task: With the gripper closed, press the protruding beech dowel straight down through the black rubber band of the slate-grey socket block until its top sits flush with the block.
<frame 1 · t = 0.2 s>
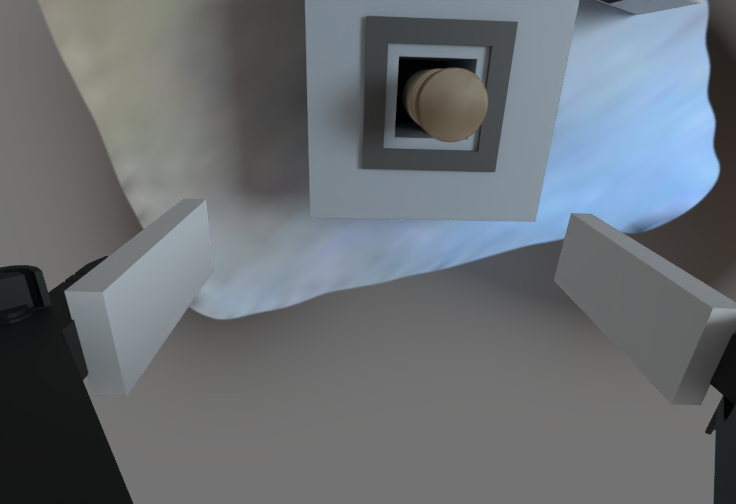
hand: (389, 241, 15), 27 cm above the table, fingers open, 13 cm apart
socket block: (415, 92, 39), on the table
peg: (438, 100, 29), point 11 cm above the table, slide at 0.0 cm
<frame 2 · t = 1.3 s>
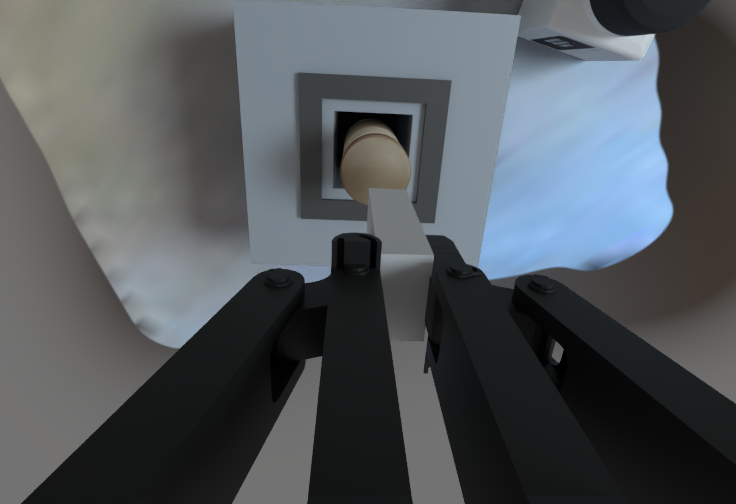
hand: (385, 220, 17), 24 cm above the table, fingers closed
socket block: (367, 131, 39), on the table
peg: (372, 156, 28), point 12 cm above the table, slide at 0.0 cm
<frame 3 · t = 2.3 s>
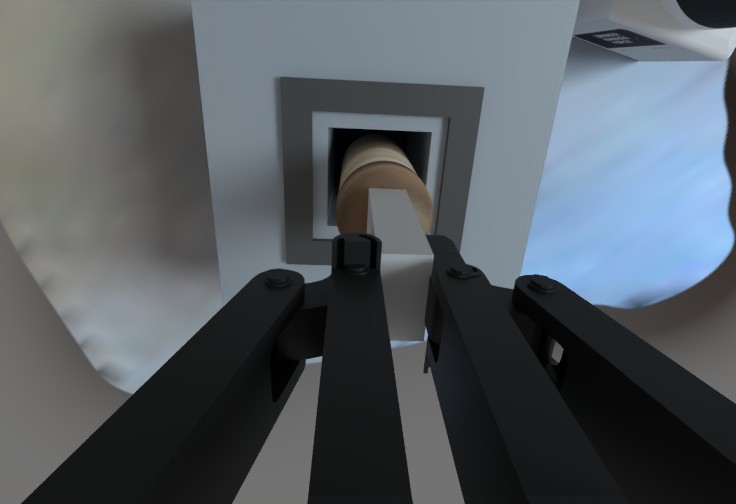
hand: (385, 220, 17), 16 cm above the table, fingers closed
socket block: (370, 147, 32), on the table
peg: (378, 187, 22), point 11 cm above the table, slide at 0.2 cm, touching gripper
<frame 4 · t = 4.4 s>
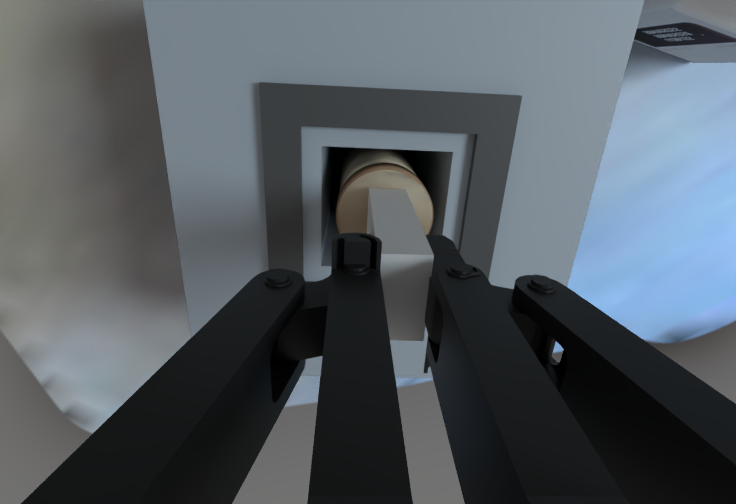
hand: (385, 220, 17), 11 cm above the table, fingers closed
socket block: (373, 163, 27), on the table
peg: (378, 188, 22), point 6 cm above the table, slide at 5.3 cm, touching gripper
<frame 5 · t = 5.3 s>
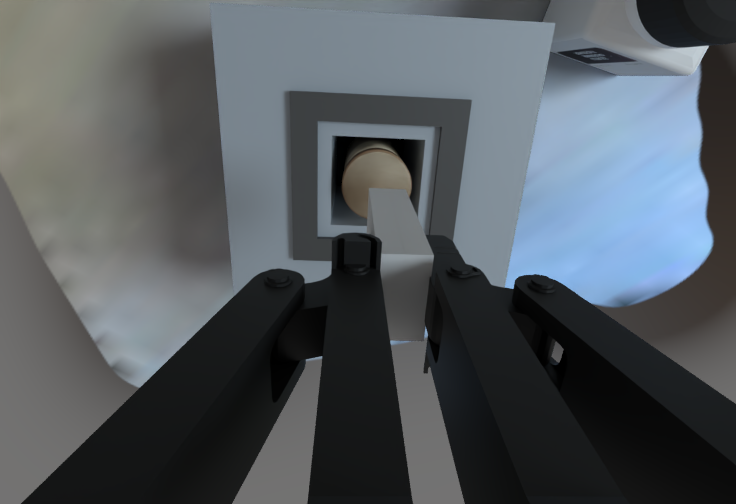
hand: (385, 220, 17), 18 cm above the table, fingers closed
container: (599, 6, 31), on the table
socket block: (370, 155, 35), on the table
peg: (373, 170, 29), point 6 cm above the table, slide at 5.3 cm
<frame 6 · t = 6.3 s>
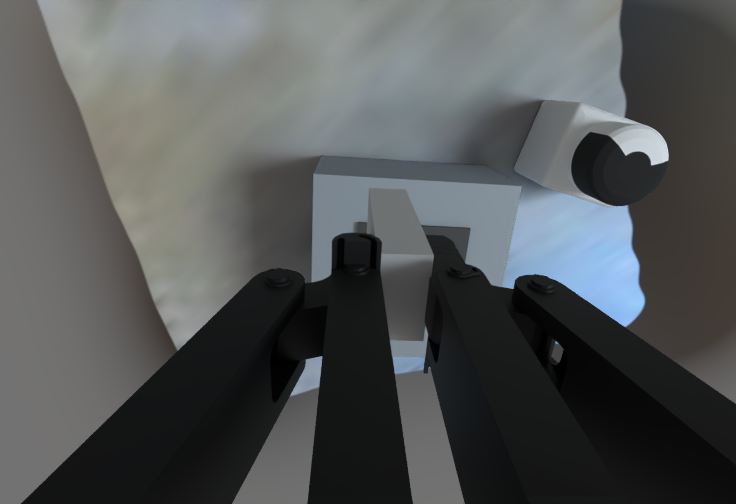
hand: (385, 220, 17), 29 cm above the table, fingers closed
container: (558, 146, 46), on the table
socket block: (397, 239, 49), on the table
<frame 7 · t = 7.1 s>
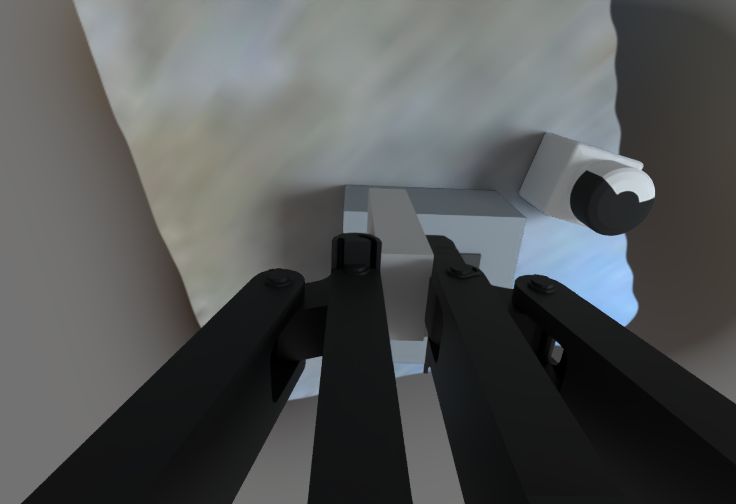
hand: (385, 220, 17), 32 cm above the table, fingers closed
container: (559, 172, 50), on the table
socket block: (414, 256, 54), on the table
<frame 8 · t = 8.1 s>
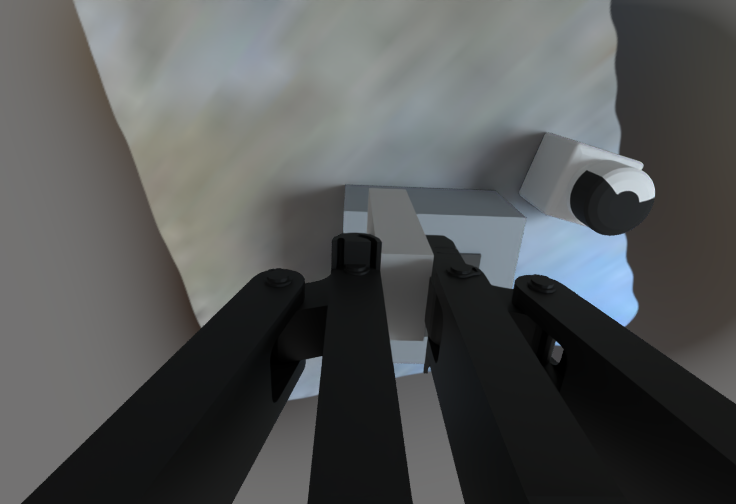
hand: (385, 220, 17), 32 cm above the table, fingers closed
container: (559, 172, 50), on the table
socket block: (414, 256, 54), on the table
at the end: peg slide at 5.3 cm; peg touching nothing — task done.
